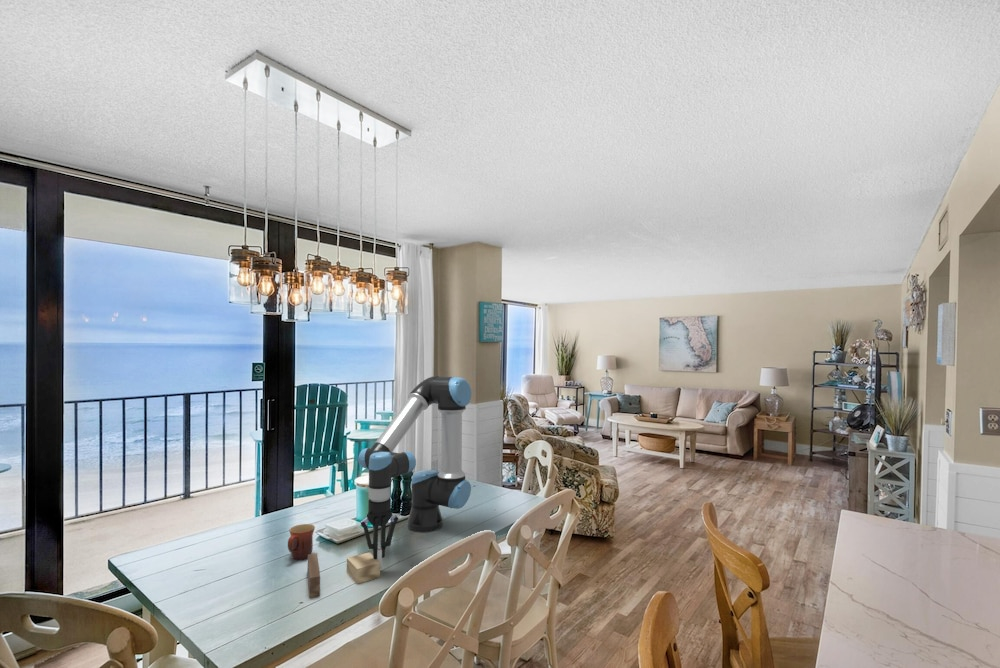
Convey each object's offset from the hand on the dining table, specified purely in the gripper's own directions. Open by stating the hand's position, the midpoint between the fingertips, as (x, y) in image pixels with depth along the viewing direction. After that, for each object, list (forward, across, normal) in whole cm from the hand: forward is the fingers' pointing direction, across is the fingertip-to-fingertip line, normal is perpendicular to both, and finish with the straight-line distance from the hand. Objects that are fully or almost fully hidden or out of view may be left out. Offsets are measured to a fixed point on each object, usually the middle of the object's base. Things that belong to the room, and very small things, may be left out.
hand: (378, 567), depth 165 cm
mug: (+2, +25, -22) cm, 33 cm away
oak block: (+2, +5, 0) cm, 5 cm away
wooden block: (+2, +21, 0) cm, 21 cm away
